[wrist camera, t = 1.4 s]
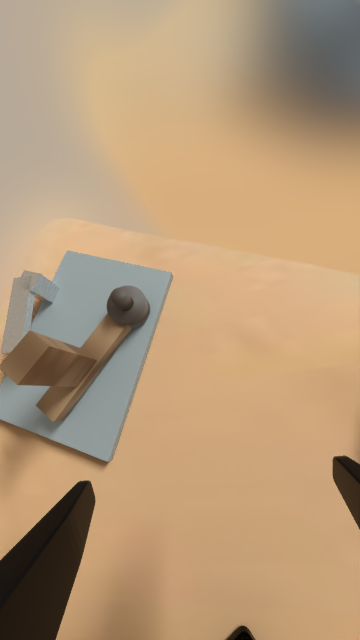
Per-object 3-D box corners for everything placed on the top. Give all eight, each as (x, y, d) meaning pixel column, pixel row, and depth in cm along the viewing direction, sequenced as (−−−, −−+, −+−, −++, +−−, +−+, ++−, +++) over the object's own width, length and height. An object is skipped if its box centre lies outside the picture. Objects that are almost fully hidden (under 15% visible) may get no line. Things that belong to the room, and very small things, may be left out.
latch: (129, 287, 25) (93, 238, 17) (157, 305, 24) (133, 261, 16) (41, 399, 22) (-51, 404, 14) (68, 425, 21) (-14, 445, 13)
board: (112, 459, 21) (108, 462, 20) (-5, 412, 24) (-14, 413, 23) (173, 276, 27) (171, 272, 26) (71, 255, 29) (67, 250, 28)
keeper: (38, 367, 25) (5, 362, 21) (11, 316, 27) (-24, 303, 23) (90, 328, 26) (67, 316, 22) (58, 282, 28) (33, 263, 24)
